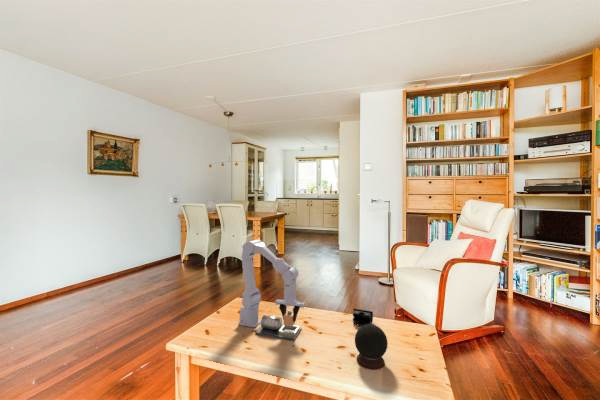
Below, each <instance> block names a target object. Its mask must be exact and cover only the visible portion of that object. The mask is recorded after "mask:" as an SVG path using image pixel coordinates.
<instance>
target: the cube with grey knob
mask: <svg viewBox="0 0 600 400" xmlns="http://www.w3.org/2000/svg"><path fill="white" fill-rule="evenodd" d="M295 323H296V321H295V322H293V311H292V310H289V311H288V310H287V311H286V313H285V314H284V320H283V325H285V326H293V325H295Z"/></svg>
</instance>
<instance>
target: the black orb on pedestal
mask: <svg viewBox="0 0 600 400" xmlns="http://www.w3.org/2000/svg"><path fill="white" fill-rule="evenodd" d="M355 332H356V333H355V335H354V344H355V348H356V350H357V352H358V355H356V362H357V364H358V365H359V366H360V367H362V368H364V369H366V370H370V371H371V370H372V371H377V370H380V369H383V368H384V366H385V359H384V358H383V356H384V355H385V353H386V352H387V349H388V345H389V344H388V337H387V335H386V333H385V331H383V329H382V328H381V327H379V326H377V325H375V324H372V323H371V324H367V325H363V326H360V327H359V328H358V329H357V330H356V331H355Z"/></svg>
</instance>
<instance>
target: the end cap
mask: <svg viewBox="0 0 600 400" xmlns="http://www.w3.org/2000/svg"><path fill="white" fill-rule="evenodd" d="M352 317H353V318H352V321H353V322H352V324H353V323H354V324H353V325H356V324H358V325H357V326H361V325H367V324H372V323H373V320H374V312H373V311H372V310H367V309H362V308H361V309H360V308H353V312H352Z"/></svg>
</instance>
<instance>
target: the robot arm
mask: <svg viewBox="0 0 600 400" xmlns="http://www.w3.org/2000/svg"><path fill="white" fill-rule="evenodd" d="M241 247H242V252H241V264H242V272H243V273H242V274H243V278H244V279H243V281H244V287H245V289H244V291H243V293H242V299H241V305H242V306H241V307H240V310H239V322H238V326H243V327H250V328H257V326H258V325H259V324H261V320H262V319H259V312H260V311H259V308H260V303H261V302H262V295H261V293H260V289H259V288H258V287H257V285H256V277H255V276H256V275H255V269H254V261H253V258H254V257H255V255H262V256H263V257H265V259H267V260H269V262H271V264H272V267H273V268H274V269H275V270H276V271H277V272H278V273H279V274H280V275H281V278H282V280H283V284H284V286H283V288H284V290H283V299H276V300H275V305H277V306H278V305H279V306H278V308H279V310H280V312H281V315H282V321H284V314H285V313H286V312H287V307H293V308H292V312H293V322H295V323H296V321H297V317H298V313H299V311H300V309H304V308H305V307H306V306H305V302H301V301H298V300H297V278H298V277H299V272H298V269H297V268H296V267H294V266H291V265H290V264H288V263H287V262H286V261H285V259H284V258H282V257H277V256H276V255H275V254H274V253H273V252H272V251H271V250H270V249H269V248H268V247H267V246H266V244H265V242H264V241H262V240H261V239H259V238H258V239H253V240H250V241H248V240H247V241H246V242H245V243H243V245H242V246H241Z"/></svg>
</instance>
